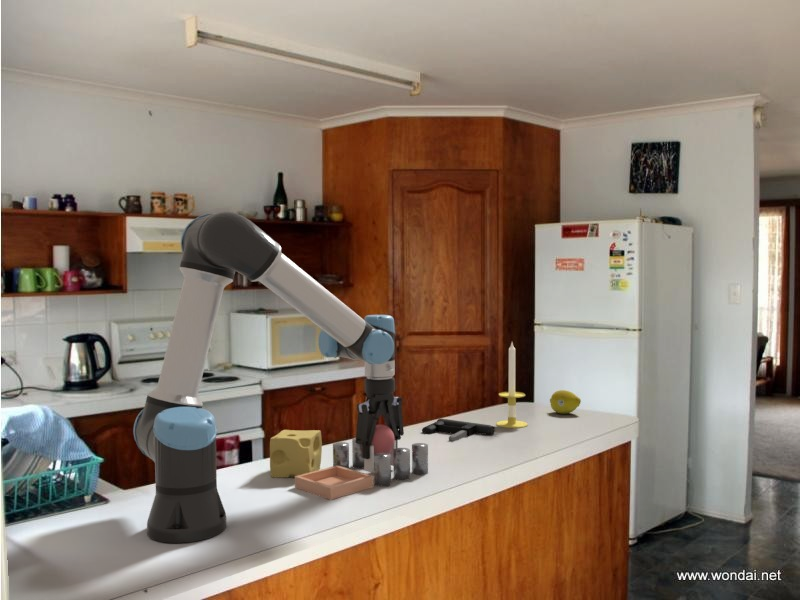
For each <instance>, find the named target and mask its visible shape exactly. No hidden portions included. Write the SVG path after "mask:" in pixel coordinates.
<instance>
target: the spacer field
mask: <svg viewBox="0 0 800 600" xmlns="http://www.w3.org/2000/svg"><path fill="white" fill-rule="evenodd" d="M351 441H352V442H351V443H352V444H351V447H352V449H351V451H352V453H351V454H352V468H353V467H354V468H353V469H359V470H361V469H364V458H363V451H362V445H361V444H357V443H356V437H355V438H352V440H351ZM393 464H394V466H393V480H395V481H399V482H400V481H401V482H402V481H409V480H410V479H411V473H412V475H417V476H424V475H428V474H429V444H428V443H423V442H417V443H415V442H414V443H412V445H411V450H410V448H407V447H398V448H395V449H394V450H393ZM336 465H338V466H341V467H345V468H348V469H350V443H349V442H345V441H337V442H334V443H332V466H336ZM391 466H392V465H391V454H389V453H376V454H374V472H373V486H376V487H380V488H381V487H389V486H391V485H392V473H391V472H392V467H391Z"/></svg>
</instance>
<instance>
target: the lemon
mask: <svg viewBox="0 0 800 600" xmlns="http://www.w3.org/2000/svg"><path fill="white" fill-rule="evenodd" d="M581 402H582V400H581V398H580V397H578V395H576V394H575V393H573V392H571V391H570V390H566V389H565V390H562V389H561V390H556V391H555V392H553V393H552V395H551V397H550V399H549V403H550V407H551V409H552V411H554V412H555V413H558V414H561V415H564V414H565V415H566V414H570V413H573V412H574V411H575V410H577V408H578V407H579V406H580V404H581Z"/></svg>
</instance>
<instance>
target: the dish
mask: <svg viewBox="0 0 800 600" xmlns="http://www.w3.org/2000/svg"><path fill="white" fill-rule="evenodd" d="M294 488H295V489H299V490H302V491H304V492H307V493H310V494H313V495H316V496H319V497H322V498H325V499H327V500H330V501H331V500H334V499H338V498H340V497H345V496H348V495H351V494H353V493H354V494H355V493H358V492H361V491H364V490H368V489H371V488H374V475H371V474H369V473H364V472H362V471H358V470H356V469H351V468H349V469H348V468H345V467H341V466H338V465H336V466H333V465H332V466H330V467H325V468H320V469H319V470H317V471H313V472H310V473H306V474H302V475H298V476H295V477H294Z"/></svg>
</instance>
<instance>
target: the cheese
mask: <svg viewBox="0 0 800 600" xmlns="http://www.w3.org/2000/svg"><path fill="white" fill-rule="evenodd" d="M322 442H323V441H322V431H321V430H319V429H318V430H315V429H313V430H312V429H311V430H310V429H309V430H294V429H292V430H291V429H283V430H281V431H280V432H279V433H277V434H276V435H273V436H272V437H270V439H269V469H270V470H269V471H270V477H271V478H285V479H286V478H287V479H288V478H295V476H298V475H302V474H306V473H310V472H313V471H317V470H321V463H322V454H323V453H322V452H323V451H322V449H323V448H322V447H323V443H322Z"/></svg>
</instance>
